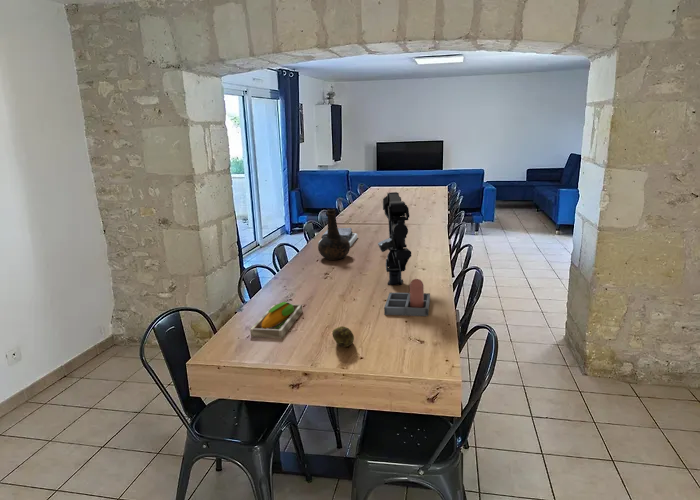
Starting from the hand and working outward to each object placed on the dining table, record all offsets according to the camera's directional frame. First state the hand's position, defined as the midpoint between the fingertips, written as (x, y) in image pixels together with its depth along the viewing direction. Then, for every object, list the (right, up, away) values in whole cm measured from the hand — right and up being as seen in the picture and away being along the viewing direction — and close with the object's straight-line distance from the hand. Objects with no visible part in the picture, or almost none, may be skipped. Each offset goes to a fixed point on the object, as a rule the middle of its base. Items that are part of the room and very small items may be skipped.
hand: (399, 268), depth 205 cm
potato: (-23, -25, -39) cm, 52 cm away
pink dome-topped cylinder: (+6, -16, -13) cm, 22 cm away
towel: (-28, +13, +101) cm, 106 cm away
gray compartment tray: (+3, -16, -8) cm, 18 cm away
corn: (-49, -21, -19) cm, 56 cm away
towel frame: (-28, +13, +101) cm, 106 cm away
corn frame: (-49, -21, -17) cm, 56 cm away
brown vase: (-30, +3, +67) cm, 73 cm away
